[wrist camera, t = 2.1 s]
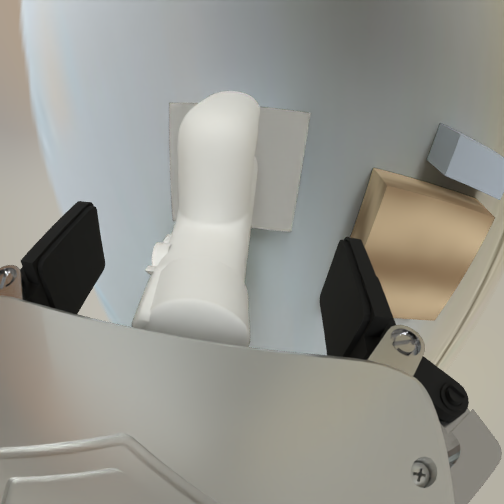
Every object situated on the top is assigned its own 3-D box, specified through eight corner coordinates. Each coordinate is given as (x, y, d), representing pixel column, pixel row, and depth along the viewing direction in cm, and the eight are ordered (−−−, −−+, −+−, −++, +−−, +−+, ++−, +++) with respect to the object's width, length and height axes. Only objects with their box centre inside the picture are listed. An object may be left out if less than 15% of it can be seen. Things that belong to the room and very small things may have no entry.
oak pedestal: (373, 167, 19) (387, 185, 17) (476, 198, 19) (494, 217, 17) (331, 287, 26) (335, 312, 23) (424, 297, 26) (434, 320, 24)
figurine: (305, 86, 16) (402, 180, 4) (286, 217, 22) (294, 426, 10) (187, 77, 16) (5, 157, 4) (187, 208, 22) (107, 398, 10)
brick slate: (425, 159, 18) (444, 175, 16) (438, 122, 17) (460, 134, 14) (480, 182, 19) (499, 200, 16) (493, 150, 17) (515, 165, 15)
